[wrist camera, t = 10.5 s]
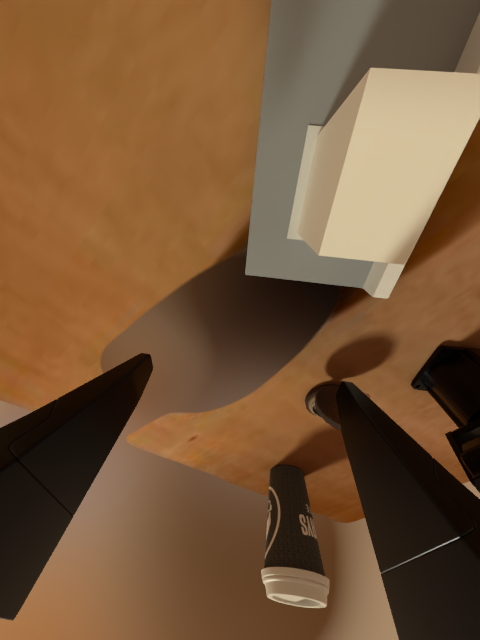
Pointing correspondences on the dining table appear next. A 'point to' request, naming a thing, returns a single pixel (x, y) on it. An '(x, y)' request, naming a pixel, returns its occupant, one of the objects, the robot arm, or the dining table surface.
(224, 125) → the dining table surface
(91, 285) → the dining table surface
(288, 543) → the coffee cup
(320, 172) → the carton
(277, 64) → the shelf board
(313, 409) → the compass
